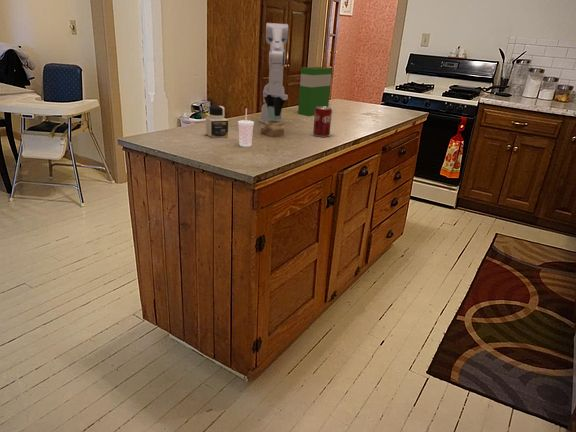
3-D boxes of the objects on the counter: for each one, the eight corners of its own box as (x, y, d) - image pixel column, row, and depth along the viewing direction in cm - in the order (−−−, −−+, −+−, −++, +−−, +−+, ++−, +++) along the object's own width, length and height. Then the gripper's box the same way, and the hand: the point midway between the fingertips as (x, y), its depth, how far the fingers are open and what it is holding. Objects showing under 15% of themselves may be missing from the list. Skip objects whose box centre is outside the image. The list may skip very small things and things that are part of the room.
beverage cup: (240, 147, 165) (241, 109, 160) (235, 143, 170) (236, 106, 165) (255, 146, 168) (256, 109, 162) (250, 142, 173) (251, 106, 167)
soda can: (331, 134, 195) (333, 107, 190) (327, 138, 189) (329, 110, 184) (315, 132, 197) (317, 105, 192) (310, 135, 191) (313, 108, 186)
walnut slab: (260, 134, 188) (260, 128, 187) (271, 132, 193) (271, 126, 192) (272, 138, 184) (273, 131, 183) (283, 135, 189) (283, 129, 188)
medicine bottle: (211, 138, 176) (211, 107, 171) (206, 134, 182) (205, 104, 177) (228, 137, 179) (228, 107, 174) (222, 133, 185) (222, 104, 180)
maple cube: (265, 128, 187) (265, 121, 186) (272, 126, 191) (273, 119, 190) (274, 130, 184) (274, 123, 183) (281, 128, 188) (282, 121, 187)
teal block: (267, 118, 186) (268, 106, 184) (275, 117, 189) (275, 105, 187) (273, 119, 183) (274, 107, 181) (281, 119, 186) (281, 107, 184)
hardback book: (317, 111, 250) (320, 67, 241) (327, 113, 246) (331, 68, 237) (298, 114, 238) (301, 67, 228) (308, 116, 233) (312, 69, 224)
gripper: (257, 79, 182) (256, 112, 188) (278, 84, 172) (277, 118, 178) (271, 79, 187) (269, 111, 192) (292, 83, 177) (290, 117, 182)
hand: (274, 114), depth 185 cm, fingers closed on teal block, 4 cm apart
